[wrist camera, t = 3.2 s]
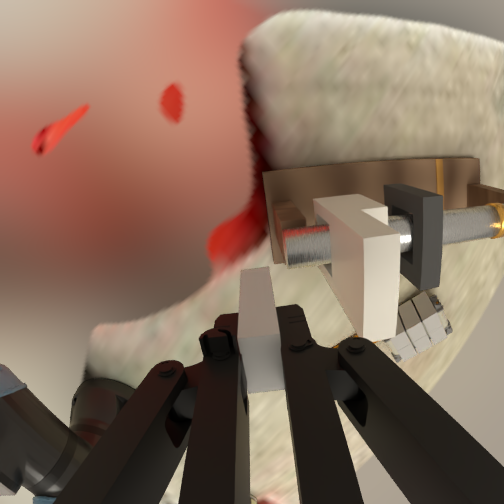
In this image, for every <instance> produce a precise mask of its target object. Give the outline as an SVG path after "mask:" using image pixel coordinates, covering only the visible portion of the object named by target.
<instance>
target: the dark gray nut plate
mask: <svg viewBox="0 0 504 504" xmlns="http://www.w3.org/2000/svg"><path fill="white" fill-rule="evenodd" d="M383 186H384V205H385V206H387V207H388V216H394V215H402V214H410V213H412V214H413V251H408V252H402V253H400V273H401V274H402V275H403V276H404V277H405V278H407V279H408V280H409V281H410V282H411V283H412V284H413V285H414V286H415V287H416V288H418V289H419V290H420V291H422V290H427V289H431V288H436V287H439V283H440V272H441V259H442V241H443V195H440V194H436V193H433V192H430V191H426V190H423V189H419V188H416V187H413V186H409V185H405V184H402V183H398V184H386V185H383Z"/></svg>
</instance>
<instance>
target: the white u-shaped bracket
mask: <svg viewBox="0 0 504 504" xmlns="http://www.w3.org/2000/svg"><path fill="white" fill-rule="evenodd" d="M313 203H314V214H315V225H321V224H329V231H330V246H331V263H330V264H323V265H319V268H320V270H321V272H322V273H323V275H324V277H325V279H326V280H327V282H328V284H329V285H330V287H331V289H332V291H333V292H334V294H335V296H336V298H337V299H338V301H339V303H340V305H341V306H342V308H343V310H344V312H345V313H346V315H347V317H348V319H349V320H350V322H351V324H352V326H353V328H354V329H355V331H356V333H357V335H358V337H362V338H366V339H368V340H370V341H372V342H375V341H380V340H384V339H389V338H393V337H395V335H396V325H397V313H398V299H399V280H400V233H399V232H397V231H396V230H394V229H393V228H391V227H389V226H388V207H387V206H385V205H383V204H381V203H378V202H376V201H374V200H372V199H369V198H367V197H365V196H363V195H360V194H352V195H342V196H333V197H324V198H315V199H313Z"/></svg>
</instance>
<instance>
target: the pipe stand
mask: <svg viewBox="0 0 504 504" xmlns="http://www.w3.org/2000/svg"><path fill="white" fill-rule="evenodd" d="M262 175H263V182H264V190H265V198H266V205H267V213H268V221H269V229H270V237H271V245H272V253H273V260H274V264H280V263H285V265H286V260H285V254H284V247H283V238H282V230H283V229H290V228H297V227H305V226H313V225H315V214H314V203H313V199H315V198H324V197H333V196H342V195H352V194H360V195H363V196H365V197H367V198H369V199H372V200H374V201H376V202H378V203H381V204H383V205H384V186H383V185H386V184H398V183H402V184H405V185H409V186H413V187H416V188H419V189H423V190H426V191H430V192H433V193H436V194H440V195H443V210H447V209H456V208H465V207H475V206H485V205H486V204H489V203H501V204H504V190H502V189H498V188H494V187H490V186H486V185H482V184H480V163H479V159H478V158H427V159H402V160H384V161H368V162H355V163H342V164H331V165H320V166H310V167H301V168H292V169H283V170H275V171H267V172H262ZM410 214H411V213H410Z"/></svg>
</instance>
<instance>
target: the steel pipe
mask: <svg viewBox="0 0 504 504" xmlns="http://www.w3.org/2000/svg"><path fill="white" fill-rule="evenodd" d="M388 226H389V227H391V228H393V229H394V230H396V231H397V232H399V233H400V253H402V252H408V251H413V214H412V213H411V214H402V215H394V216H388ZM500 237H504V204H501V203H489V204H486V205H485V206H475V207H465V208H456V209H447V210H443V241H442V246H445V245H451V244H456V243H462V242H468V241H474V240H480V239H485V238H491V239H495V238H500ZM282 238H283V247H284V254H285V260H286V265H287V269H295V268H302V267H309V266H316V265H323V264H330V263H331V246H330V231H329V224H321V225H313V226H305V227H297V228H290V229H283V230H282Z"/></svg>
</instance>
